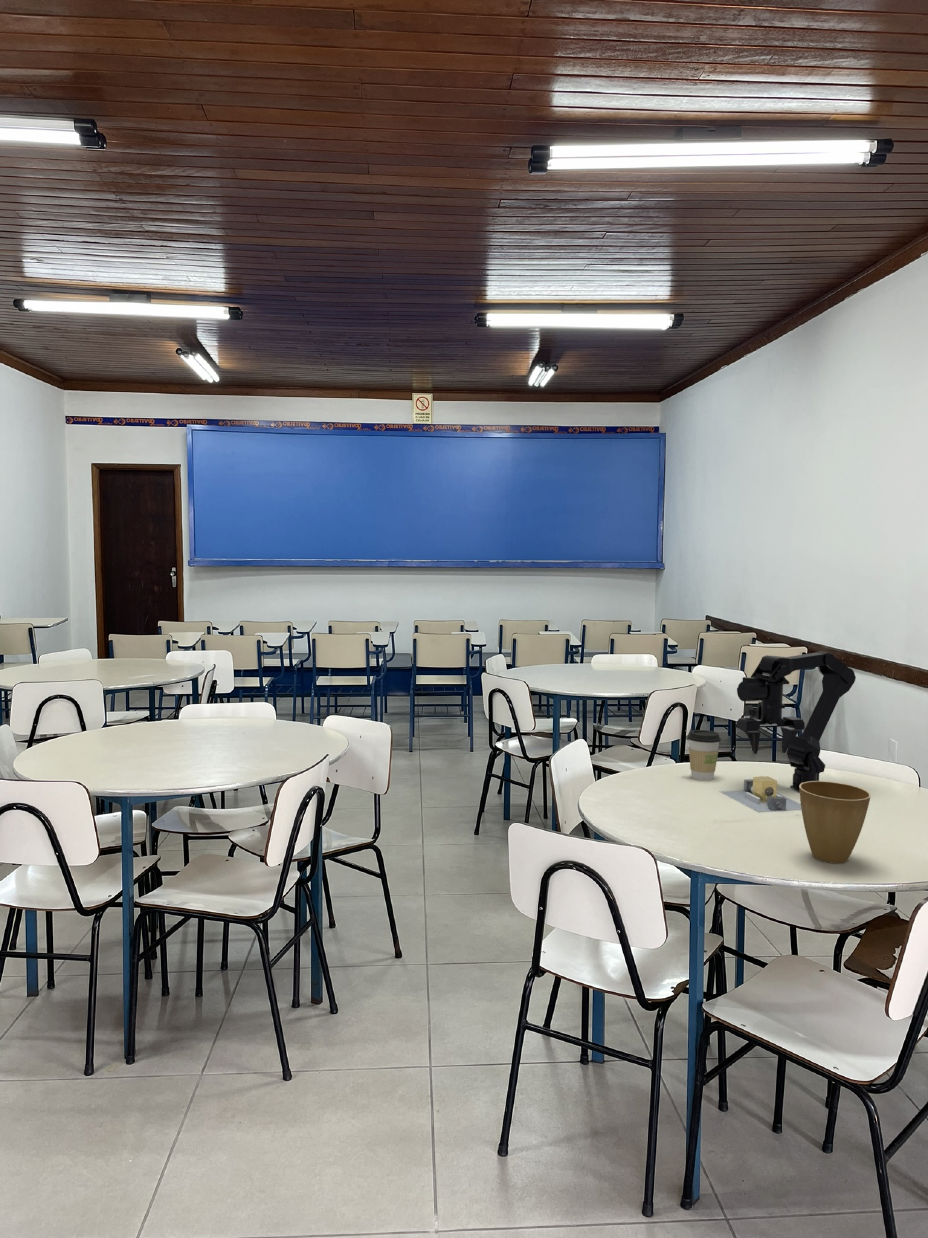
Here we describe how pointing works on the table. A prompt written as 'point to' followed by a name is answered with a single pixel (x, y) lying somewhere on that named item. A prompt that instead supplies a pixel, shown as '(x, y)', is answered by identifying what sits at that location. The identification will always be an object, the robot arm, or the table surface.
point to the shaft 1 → (748, 786)
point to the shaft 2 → (776, 803)
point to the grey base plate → (755, 803)
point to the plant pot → (832, 818)
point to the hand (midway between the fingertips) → (769, 753)
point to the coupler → (764, 787)
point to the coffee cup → (703, 753)
